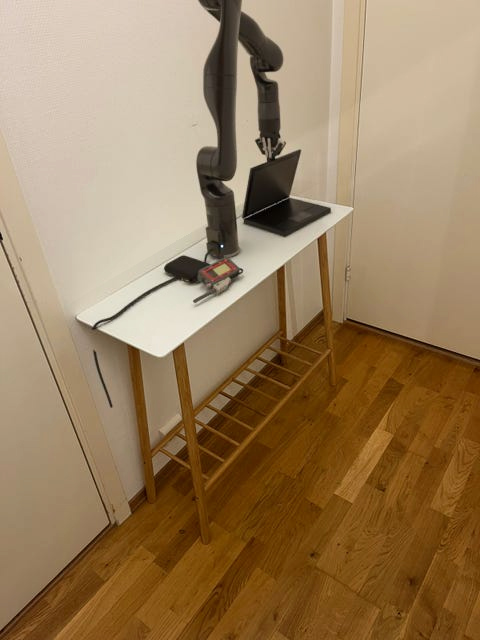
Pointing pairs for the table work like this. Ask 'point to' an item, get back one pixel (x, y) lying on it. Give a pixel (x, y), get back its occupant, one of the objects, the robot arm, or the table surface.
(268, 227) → the laptop
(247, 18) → the robot arm
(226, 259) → the grey red handheld meter
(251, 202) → the laptop screen
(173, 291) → the table surface
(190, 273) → the carrying case
